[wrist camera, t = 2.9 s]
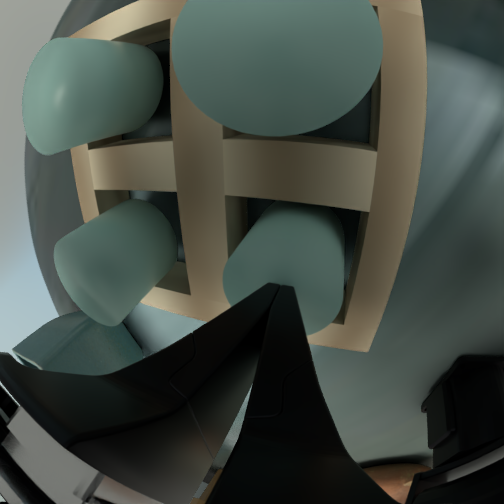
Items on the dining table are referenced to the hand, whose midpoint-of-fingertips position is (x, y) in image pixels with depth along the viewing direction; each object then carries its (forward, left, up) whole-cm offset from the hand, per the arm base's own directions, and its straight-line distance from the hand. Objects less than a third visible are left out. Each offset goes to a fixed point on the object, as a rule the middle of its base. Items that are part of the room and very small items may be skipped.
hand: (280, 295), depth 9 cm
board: (+4, -4, -4) cm, 7 cm away
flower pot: (+16, +11, -4) cm, 20 cm away
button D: (+7, -7, -2) cm, 10 cm away
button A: (0, 0, -4) cm, 4 cm away
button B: (0, -7, -2) cm, 7 cm away
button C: (+7, 0, -2) cm, 7 cm away
